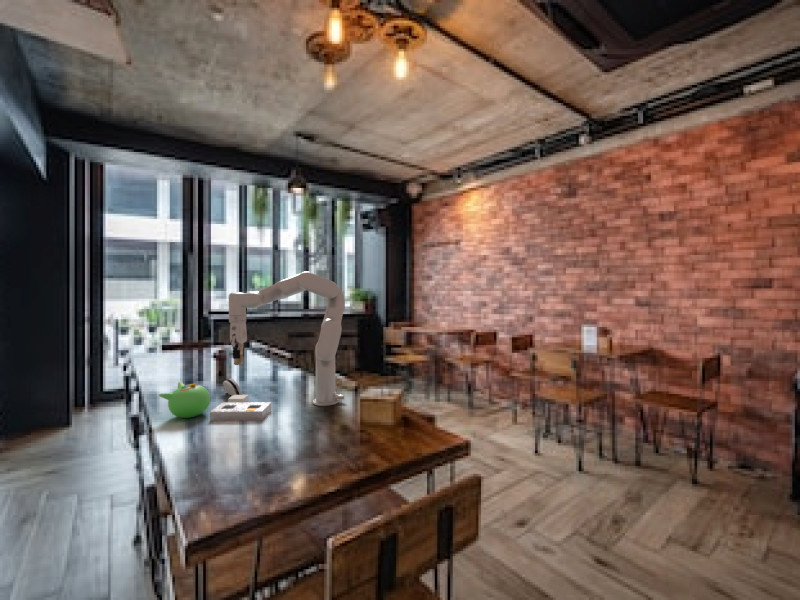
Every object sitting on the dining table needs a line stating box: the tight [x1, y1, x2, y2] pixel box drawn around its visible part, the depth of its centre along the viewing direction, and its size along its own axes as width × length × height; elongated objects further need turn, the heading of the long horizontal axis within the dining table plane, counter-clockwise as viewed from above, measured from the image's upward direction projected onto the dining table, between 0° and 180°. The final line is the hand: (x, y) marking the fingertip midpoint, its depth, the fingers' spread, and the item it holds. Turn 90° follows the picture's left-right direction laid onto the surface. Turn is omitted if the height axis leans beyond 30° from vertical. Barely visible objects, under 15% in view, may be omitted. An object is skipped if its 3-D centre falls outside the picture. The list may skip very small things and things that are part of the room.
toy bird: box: [158, 381, 211, 419], centre depth 183 cm, size 18×17×15 cm
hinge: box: [222, 378, 245, 397], centre depth 217 cm, size 17×5×10 cm, turn 39°
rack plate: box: [209, 401, 272, 422], centre depth 184 cm, size 22×14×4 cm, turn 92°
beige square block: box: [227, 394, 249, 403], centre depth 197 cm, size 7×7×5 cm
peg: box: [233, 343, 244, 366], centre depth 196 cm, size 4×4×10 cm
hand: (238, 357), depth 196 cm, fingers closed on peg, 4 cm apart
